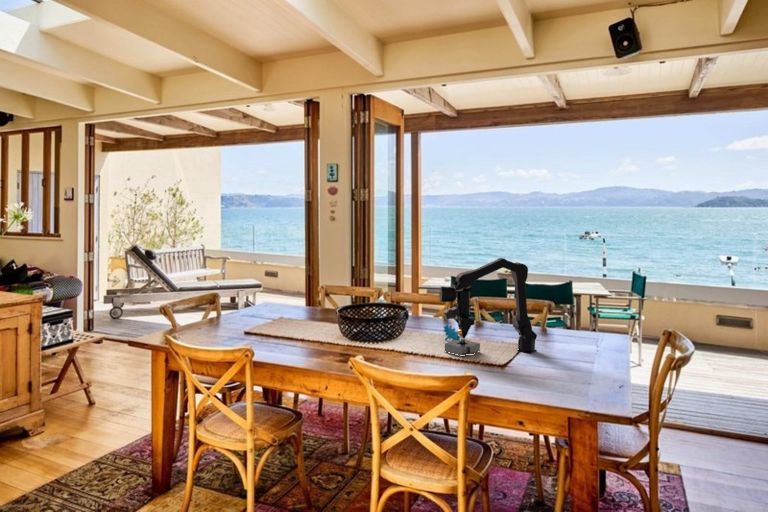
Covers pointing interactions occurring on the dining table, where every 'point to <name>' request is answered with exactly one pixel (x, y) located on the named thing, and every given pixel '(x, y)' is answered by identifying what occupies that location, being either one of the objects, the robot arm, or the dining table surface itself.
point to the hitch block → (462, 347)
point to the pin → (462, 340)
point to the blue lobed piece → (451, 333)
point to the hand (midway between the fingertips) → (462, 336)
